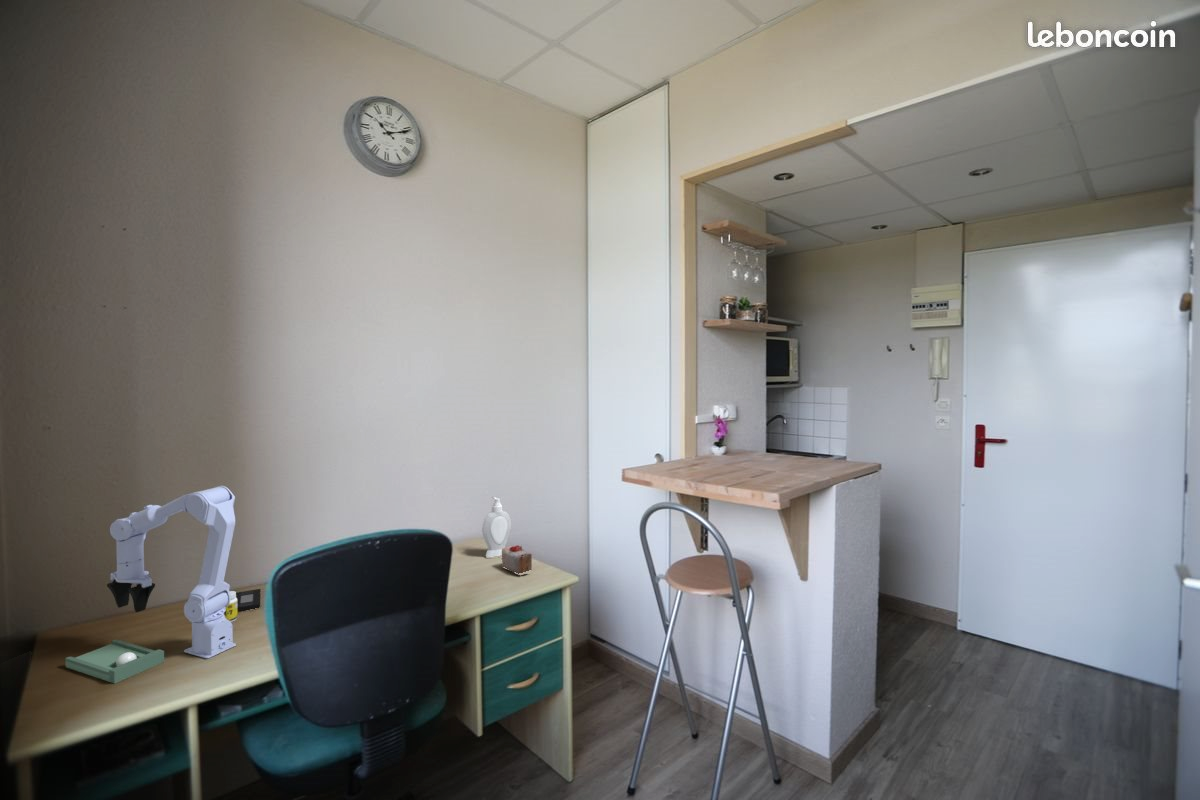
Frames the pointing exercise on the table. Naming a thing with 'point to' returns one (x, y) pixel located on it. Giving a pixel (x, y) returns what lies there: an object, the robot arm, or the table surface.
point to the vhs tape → (248, 600)
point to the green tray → (105, 659)
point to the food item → (516, 559)
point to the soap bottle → (496, 529)
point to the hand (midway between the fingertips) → (131, 608)
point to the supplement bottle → (231, 608)
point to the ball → (125, 658)
